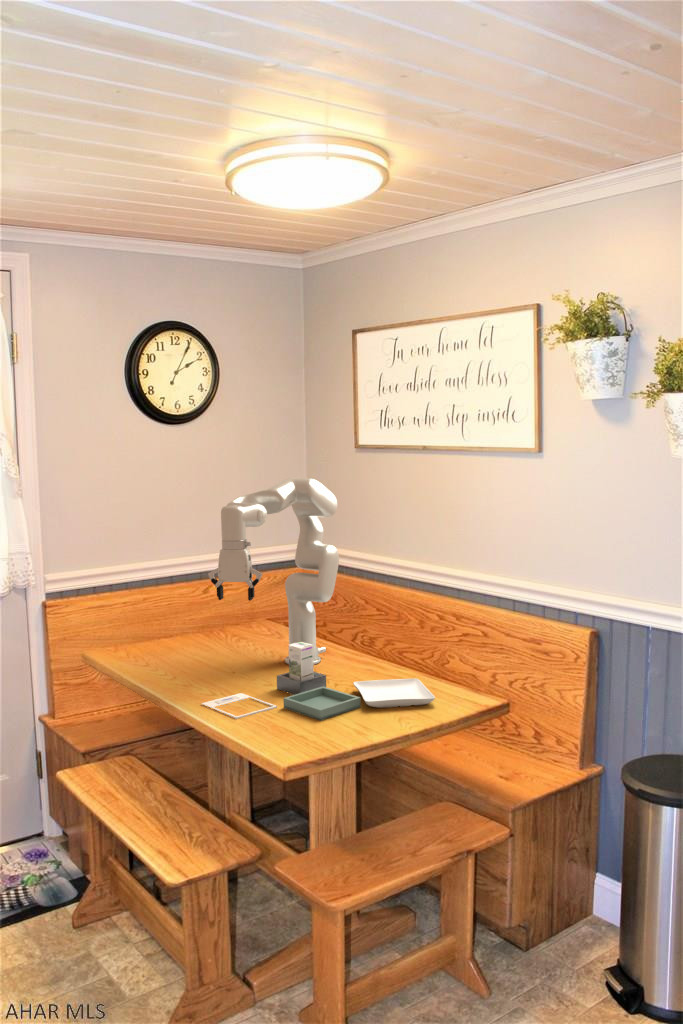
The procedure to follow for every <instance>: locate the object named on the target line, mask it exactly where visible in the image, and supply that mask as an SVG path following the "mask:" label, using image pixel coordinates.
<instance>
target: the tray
mask: <svg viewBox="0 0 683 1024" xmlns="http://www.w3.org/2000/svg"><path fill="white" fill-rule="evenodd" d="M361 703H362V701H361V696H356V695H353V694H350V693H346V692H343V691H340V690H336V689H334V688H330V687H327V686H326V687H320V688H316V689H313V690H309V691H306V692H303V693H299V694H296V695H293V694H291V695H290V696H286V697H283V709H285V710H287V711H291V712H293V713H297V714H300V715H302V716H306V717H309V718H312V719H315V720H317V721H320V722H321V721H325V720H326V719H330V718H334V717H336V716H340V715H342V714H345V713H349V712H351V711H354V710H357V709H360V708H361V707H362V706H361Z"/></svg>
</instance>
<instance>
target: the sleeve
mask: <svg viewBox="0 0 683 1024" xmlns="http://www.w3.org/2000/svg"><path fill="white" fill-rule="evenodd" d="M313 675H314V677H313V678H310V679H306V680H303V681H298V680H295V679H291V678H289V671H288V672H285V673H281V674H277V675H276V690H277V689H278V691H280V690H281V692H283V691H284V693H287V692H288V694H290V693H291V694H290V695H293V694H294V695H296V694H299V693H303V692H306V691H309V690H313V689H316V688H320V687H327V675H326V674H323V673H320V672H318V671H317V672H316V671H313Z"/></svg>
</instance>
